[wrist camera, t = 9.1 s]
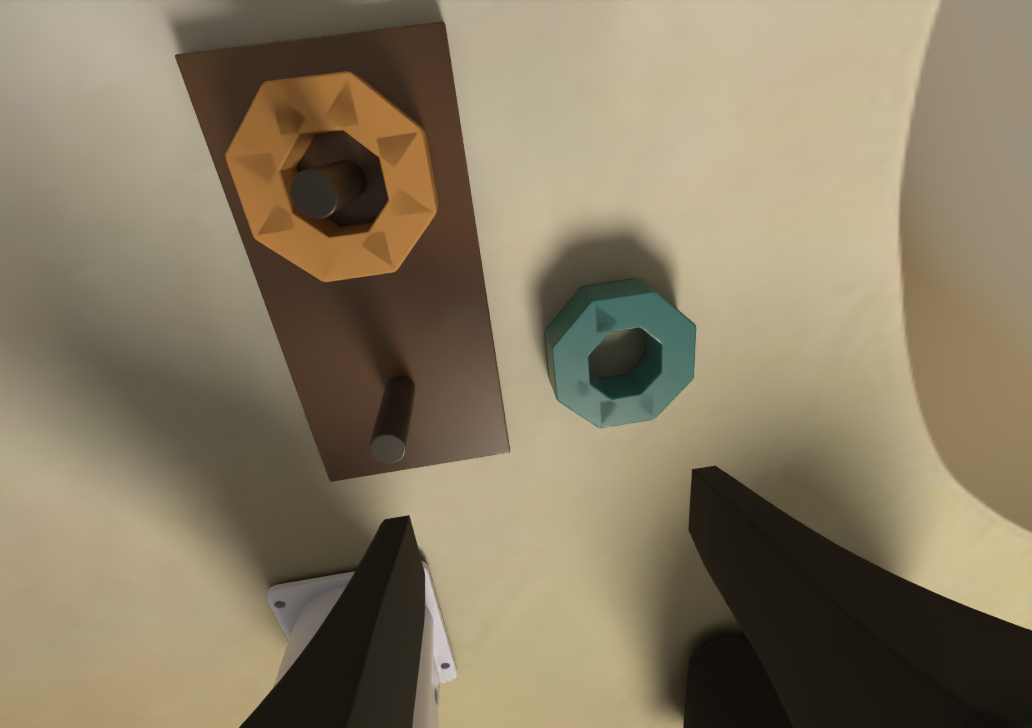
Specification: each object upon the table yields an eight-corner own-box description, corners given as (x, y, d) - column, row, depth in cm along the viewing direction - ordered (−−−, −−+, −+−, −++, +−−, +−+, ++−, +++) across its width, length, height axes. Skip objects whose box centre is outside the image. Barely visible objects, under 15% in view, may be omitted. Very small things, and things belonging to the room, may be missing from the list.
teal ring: (675, 393, 22) (692, 413, 21) (552, 413, 22) (560, 435, 20) (679, 271, 20) (699, 284, 18) (540, 292, 20) (547, 307, 18)
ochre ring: (447, 252, 18) (447, 265, 16) (288, 275, 17) (271, 290, 16) (414, 70, 15) (409, 62, 14) (227, 93, 15) (199, 89, 13)
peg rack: (508, 442, 22) (521, 520, 18) (333, 471, 22) (302, 558, 18) (445, 25, 15) (440, -17, 11) (186, 57, 15) (71, 27, 11)
